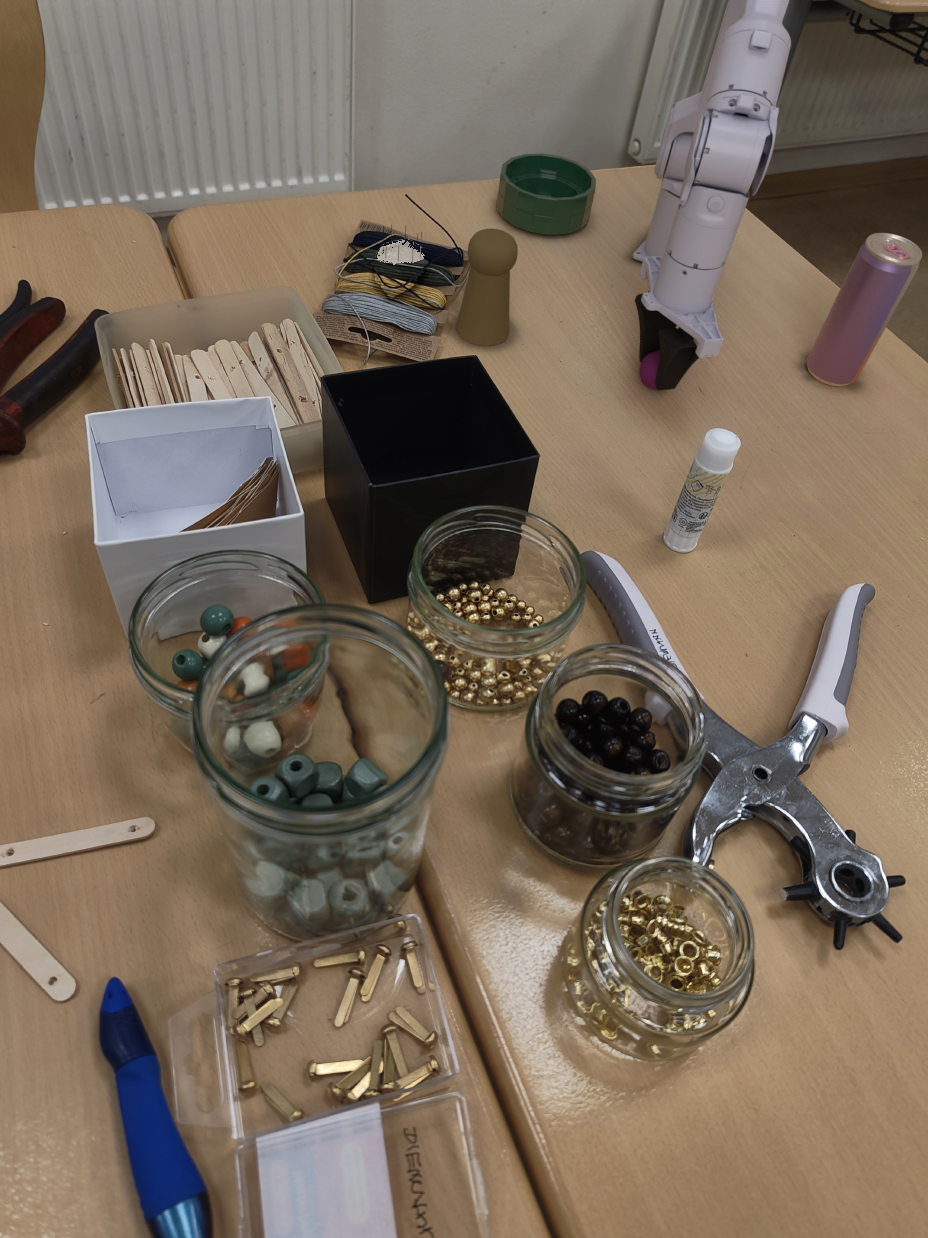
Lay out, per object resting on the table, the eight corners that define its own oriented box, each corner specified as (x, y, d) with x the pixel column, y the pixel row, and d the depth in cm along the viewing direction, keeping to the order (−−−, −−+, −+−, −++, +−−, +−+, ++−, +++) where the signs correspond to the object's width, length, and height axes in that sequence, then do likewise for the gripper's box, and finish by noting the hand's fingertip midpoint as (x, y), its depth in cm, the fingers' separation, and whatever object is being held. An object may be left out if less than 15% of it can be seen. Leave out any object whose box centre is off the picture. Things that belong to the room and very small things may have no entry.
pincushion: (416, 307, 98) (419, 260, 94) (363, 298, 98) (363, 251, 94) (433, 253, 105) (437, 207, 101) (384, 245, 106) (385, 199, 101)
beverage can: (828, 393, 96) (894, 267, 84) (793, 362, 99) (852, 236, 87) (867, 381, 98) (937, 257, 86) (831, 351, 101) (894, 227, 89)
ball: (642, 369, 94) (652, 337, 91) (676, 383, 93) (688, 351, 90) (629, 388, 92) (638, 356, 89) (664, 402, 91) (674, 370, 88)
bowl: (521, 182, 119) (527, 144, 115) (602, 210, 116) (610, 172, 112) (480, 217, 112) (484, 177, 108) (564, 248, 109) (572, 209, 105)
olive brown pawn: (504, 350, 95) (518, 256, 86) (450, 339, 95) (459, 244, 86) (513, 320, 98) (528, 226, 90) (461, 309, 99) (471, 215, 90)
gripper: (627, 215, 84) (597, 336, 95) (691, 300, 76) (649, 422, 86) (692, 212, 86) (655, 331, 96) (761, 294, 77) (712, 415, 88)
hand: (656, 374), depth 91 cm, fingers closed on ball, 4 cm apart
